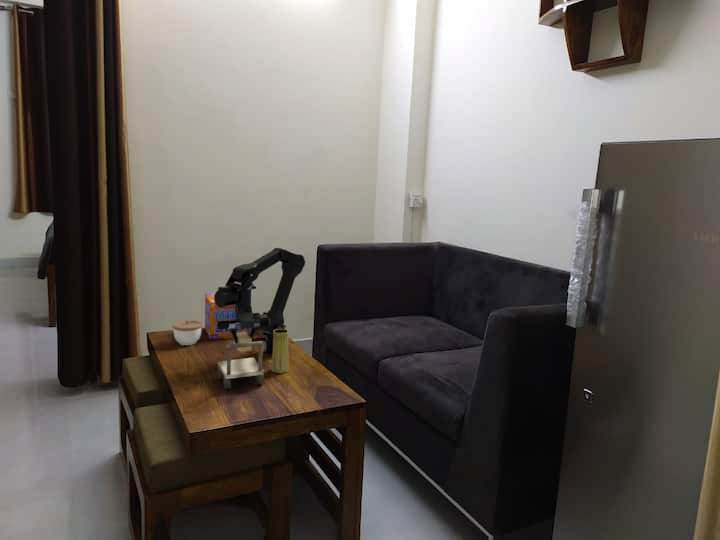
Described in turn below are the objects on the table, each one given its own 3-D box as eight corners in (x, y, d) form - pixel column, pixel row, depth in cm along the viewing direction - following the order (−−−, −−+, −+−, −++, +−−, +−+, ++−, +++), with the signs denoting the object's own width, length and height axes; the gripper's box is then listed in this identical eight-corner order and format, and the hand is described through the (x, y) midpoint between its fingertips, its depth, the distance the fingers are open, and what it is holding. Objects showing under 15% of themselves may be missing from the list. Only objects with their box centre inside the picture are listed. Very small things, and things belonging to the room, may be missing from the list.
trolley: (253, 372, 184) (253, 330, 181) (263, 386, 172) (264, 341, 170) (217, 376, 179) (217, 333, 176) (226, 391, 167) (226, 345, 164)
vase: (292, 370, 187) (293, 331, 184) (278, 374, 182) (279, 334, 180) (281, 365, 191) (282, 327, 188) (267, 369, 187) (268, 330, 184)
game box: (204, 329, 230) (204, 293, 227) (241, 326, 236) (241, 292, 233) (210, 340, 216) (209, 302, 213) (248, 336, 222) (248, 300, 219)
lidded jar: (181, 338, 217) (180, 315, 215) (206, 340, 215) (206, 317, 214) (168, 346, 206) (167, 322, 205) (194, 348, 205) (194, 325, 203)
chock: (244, 343, 196) (244, 332, 195) (251, 350, 189) (251, 338, 188) (233, 345, 194) (233, 333, 193) (240, 352, 187) (240, 339, 186)
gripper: (220, 309, 177) (220, 355, 180) (275, 306, 185) (274, 349, 188) (214, 302, 187) (214, 344, 190) (266, 298, 195) (265, 340, 198)
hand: (242, 344), depth 191 cm, fingers closed on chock, 4 cm apart
